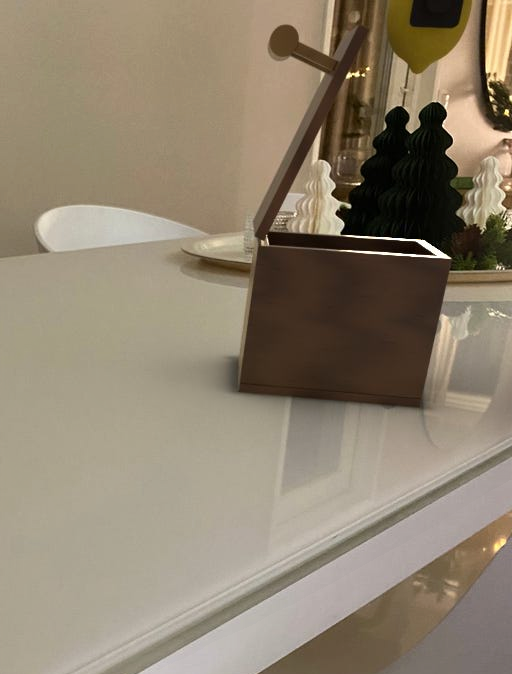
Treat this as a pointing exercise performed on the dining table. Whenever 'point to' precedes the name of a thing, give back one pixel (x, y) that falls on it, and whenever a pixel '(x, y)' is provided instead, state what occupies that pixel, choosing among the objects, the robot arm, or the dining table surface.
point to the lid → (335, 70)
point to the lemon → (421, 36)
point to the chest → (341, 317)
